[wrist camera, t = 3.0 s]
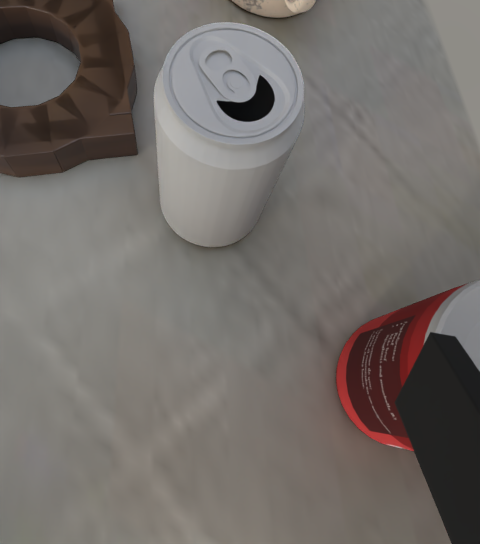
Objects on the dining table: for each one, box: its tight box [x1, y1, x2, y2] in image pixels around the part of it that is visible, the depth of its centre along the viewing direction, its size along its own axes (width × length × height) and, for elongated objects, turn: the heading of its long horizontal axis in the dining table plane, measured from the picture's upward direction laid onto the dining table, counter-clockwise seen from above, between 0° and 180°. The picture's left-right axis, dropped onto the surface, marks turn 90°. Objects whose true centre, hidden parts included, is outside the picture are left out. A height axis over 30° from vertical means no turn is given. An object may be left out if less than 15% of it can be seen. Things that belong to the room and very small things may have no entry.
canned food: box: [336, 280, 480, 451], centre depth 23 cm, size 8×8×11 cm
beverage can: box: [154, 22, 305, 247], centre depth 23 cm, size 6×6×12 cm
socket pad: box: [0, 0, 138, 177], centre depth 28 cm, size 13×13×2 cm
